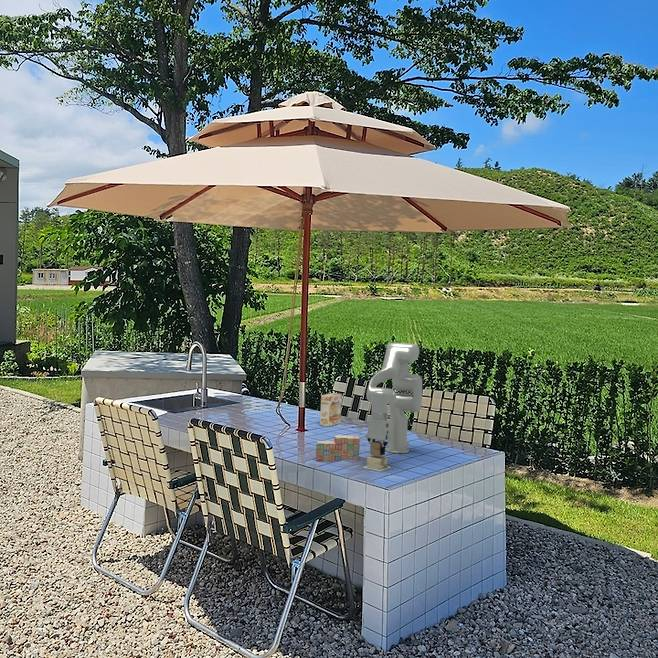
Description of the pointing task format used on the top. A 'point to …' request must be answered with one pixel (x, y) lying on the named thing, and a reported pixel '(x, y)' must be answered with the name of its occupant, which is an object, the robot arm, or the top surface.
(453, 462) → the top surface
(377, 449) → the walnut block
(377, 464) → the maple base block
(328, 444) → the stack of blocks
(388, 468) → the board
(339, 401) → the coffeecake box
